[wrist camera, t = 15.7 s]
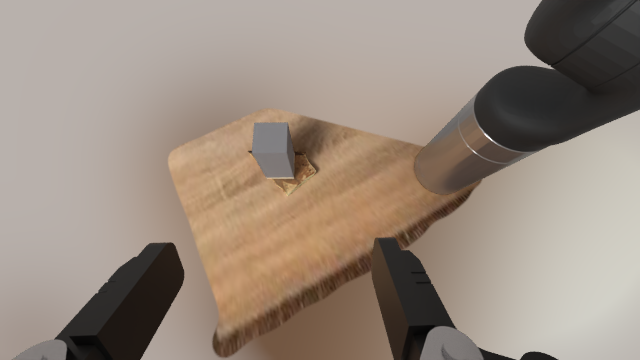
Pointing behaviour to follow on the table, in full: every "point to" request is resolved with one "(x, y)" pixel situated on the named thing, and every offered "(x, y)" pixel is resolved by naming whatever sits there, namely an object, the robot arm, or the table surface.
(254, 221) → the table surface
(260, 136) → the sanding block
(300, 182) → the shard
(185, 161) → the table surface
